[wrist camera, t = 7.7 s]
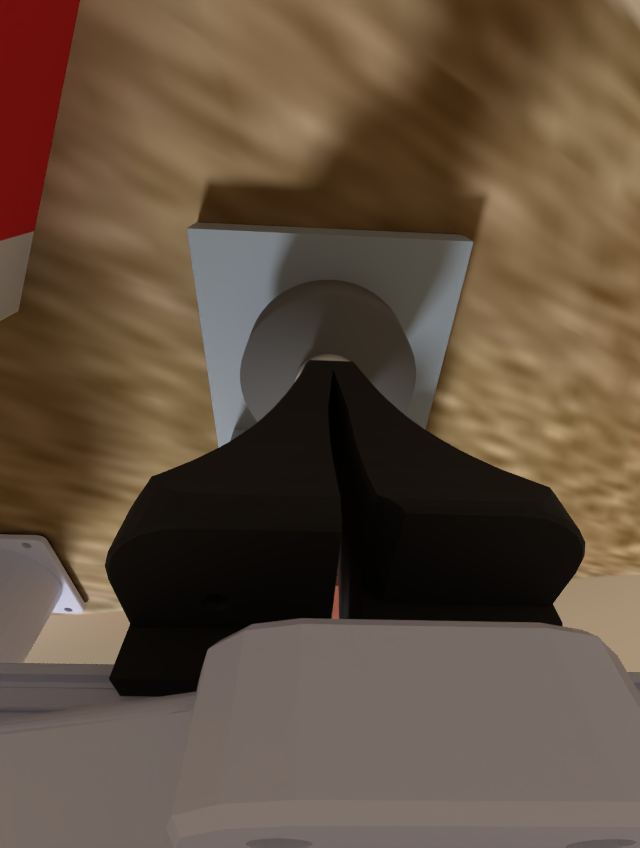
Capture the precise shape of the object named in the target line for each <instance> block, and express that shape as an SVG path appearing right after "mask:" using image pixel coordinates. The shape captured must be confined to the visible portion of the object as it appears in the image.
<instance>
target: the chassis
mask: <svg viewBox="0 0 640 848" xmlns="http://www.w3.org/2000/svg"><path fill="white" fill-rule="evenodd" d="M187 233H188V240H189V246H190V253H191V260H192V267H193V274H194V281H195V288H196V295H197V302H198V308H199V315H200V322H201V329H202V336H203V343H204V350H205V357H206V363H207V370H208V377H209V384H210V391H211V398H212V405H213V412H214V419H215V425H216V432H217V439H218V446H219V447H221V446H223V445H224V444H226V443H228V442H230V441H231V440H233V439H234V438H236V437H237V436H239V435H240V434H242V433H243V432H245V431H246V430H248V429H249V428H251V427H252V426H253V425H255V424H256V423H257V422H258V421H257V420H256V419H255V418H254V417H253V415H252V413H251V412H250V410H249V409H248V407H247V404H246V402H245V400H244V397H243V394H242V390H241V384H240V368H241V361H242V357H243V354H244V351H245V348H246V345H247V342H248V339H249V337H250V334H251V331H252V329H253V326H254V324H255V322H256V320H257V318H258V317H259V315H260V314H261V312H262V311H263V310H264V308H265V307H266V306H267V305H268V304H269V303H270V302H271V301H272V300H273V299H275V298H276V297H277V296H278V295H280V294H281V293H283V292H284V291H286V290H288V289H290V288H292V287H294V286H296V285H299V284H303V283H306V282H310V281H316V280H340V281H346V282H350V283H354V284H356V285H359V286H361V287H364V288H366V289H368V290H369V291H371V292H373V293H375V294H376V295H377V296H378V297H380V298H381V299H382V300H383V301H384V302H385V303H386V304H387V305H388V306H389V307H390V308H391V309H392V311H393V312H394V314H395V315H396V317H397V319H398V321H399V323H400V325H401V327H402V329H403V331H404V333H405V335H406V337H407V339H408V342H409V344H410V346H411V348H412V351H413V355H414V358H415V364H416V382H415V388H414V392H413V395H412V398H411V400H410V402H409V405H408V407H407V408H406V410H405V412H404V413H403V414H404V415H406V416H407V417H408V418H410V419H411V420H412V421H414V422H415V423H416V424H418V425H419V426H421V427H422V428H423V429H425V430H426V426H427V422H428V418H429V414H430V411H431V407H432V403H433V399H434V395H435V391H436V387H437V383H438V379H439V375H440V371H441V367H442V364H443V360H444V356H445V352H446V348H447V344H448V340H449V336H450V332H451V328H452V324H453V320H454V317H455V313H456V309H457V305H458V301H459V297H460V293H461V289H462V285H463V281H464V277H465V273H466V269H467V266H468V262H469V258H470V254H471V250H472V246H473V241H472V240H470V239H468V238H467V237H465V236H463V235H458V234H436V233H415V232H394V231H372V230H351V229H329V228H308V227H286V226H265V225H243V224H222V223H201V222H197V223H195V224H193V225H192V226H190V227H188V228H187Z"/></svg>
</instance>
